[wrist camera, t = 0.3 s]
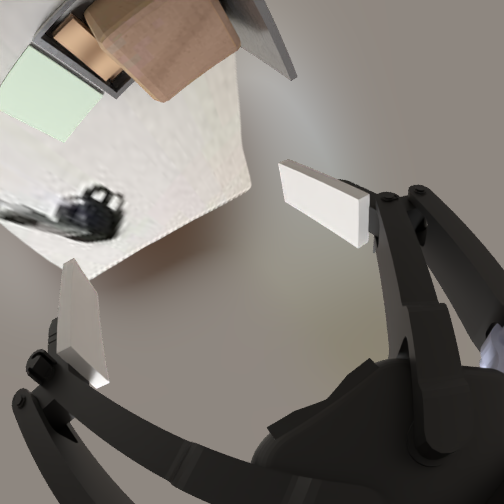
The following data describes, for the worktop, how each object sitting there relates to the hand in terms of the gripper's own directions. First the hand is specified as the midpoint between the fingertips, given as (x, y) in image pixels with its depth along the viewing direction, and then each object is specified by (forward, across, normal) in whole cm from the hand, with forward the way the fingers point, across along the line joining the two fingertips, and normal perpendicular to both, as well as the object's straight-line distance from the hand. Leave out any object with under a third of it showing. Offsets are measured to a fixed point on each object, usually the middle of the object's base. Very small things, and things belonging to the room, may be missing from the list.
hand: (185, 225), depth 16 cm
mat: (+31, -10, +14) cm, 35 cm away
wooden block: (+28, +5, +21) cm, 35 cm away
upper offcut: (+27, -2, +17) cm, 32 cm away
